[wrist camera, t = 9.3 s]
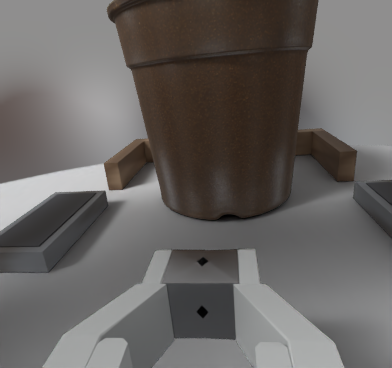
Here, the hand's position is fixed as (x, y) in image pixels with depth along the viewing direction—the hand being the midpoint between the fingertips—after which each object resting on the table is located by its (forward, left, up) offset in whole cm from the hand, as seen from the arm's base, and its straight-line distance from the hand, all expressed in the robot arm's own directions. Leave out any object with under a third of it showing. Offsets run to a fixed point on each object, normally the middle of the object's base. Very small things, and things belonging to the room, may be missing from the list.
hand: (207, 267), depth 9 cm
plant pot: (0, +19, -6) cm, 20 cm away
